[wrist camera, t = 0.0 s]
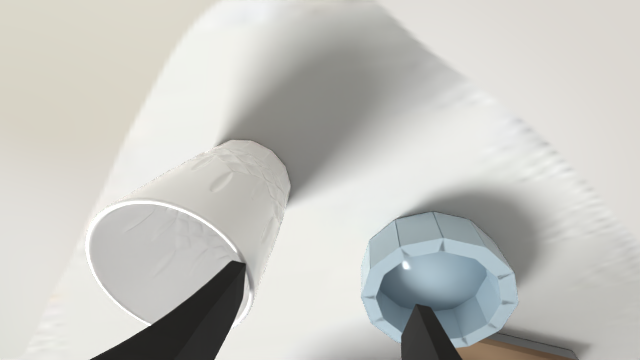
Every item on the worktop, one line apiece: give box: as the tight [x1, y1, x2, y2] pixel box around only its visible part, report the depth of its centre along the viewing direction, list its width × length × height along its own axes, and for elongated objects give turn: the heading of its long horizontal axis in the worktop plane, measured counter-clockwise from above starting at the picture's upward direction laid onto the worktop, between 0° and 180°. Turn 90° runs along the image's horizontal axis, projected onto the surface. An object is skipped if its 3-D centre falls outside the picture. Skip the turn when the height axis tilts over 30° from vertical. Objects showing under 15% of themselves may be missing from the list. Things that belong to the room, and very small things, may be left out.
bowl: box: [361, 211, 518, 348], centre depth 22 cm, size 10×10×3 cm
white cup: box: [85, 140, 291, 330], centre depth 18 cm, size 8×8×10 cm
